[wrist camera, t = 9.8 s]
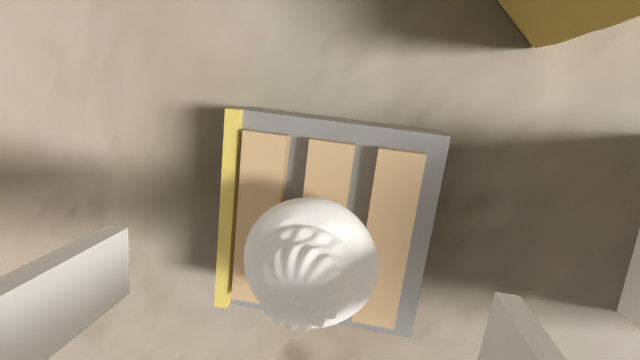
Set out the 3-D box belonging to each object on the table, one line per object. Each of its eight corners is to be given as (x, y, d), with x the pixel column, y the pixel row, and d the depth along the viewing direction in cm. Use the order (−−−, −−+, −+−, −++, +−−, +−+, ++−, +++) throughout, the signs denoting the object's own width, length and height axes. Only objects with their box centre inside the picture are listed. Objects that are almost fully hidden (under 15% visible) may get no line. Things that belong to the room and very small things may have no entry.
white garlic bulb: (289, 161, 19) (243, 194, 12) (396, 208, 19) (411, 269, 12) (251, 259, 20) (191, 337, 14) (349, 304, 20) (338, 407, 13)
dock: (252, 107, 24) (221, 108, 19) (437, 130, 22) (455, 138, 17) (240, 271, 26) (211, 309, 21) (404, 301, 25) (412, 349, 20)
